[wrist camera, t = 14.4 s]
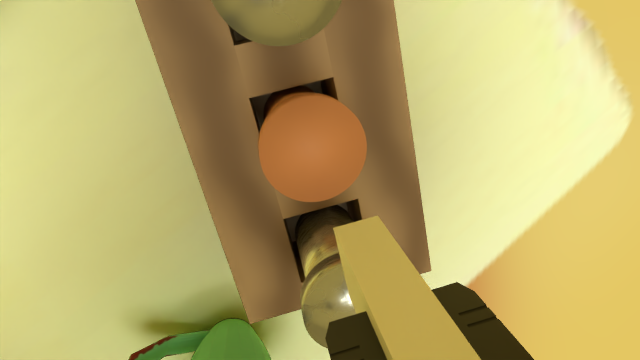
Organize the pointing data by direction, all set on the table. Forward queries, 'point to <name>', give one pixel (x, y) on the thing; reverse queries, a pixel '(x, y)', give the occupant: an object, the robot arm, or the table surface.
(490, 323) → the robot arm
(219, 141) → the brown wooden block
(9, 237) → the table surface
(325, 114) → the plunger
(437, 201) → the table surface
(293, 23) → the plunger
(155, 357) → the mug
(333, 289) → the plunger
